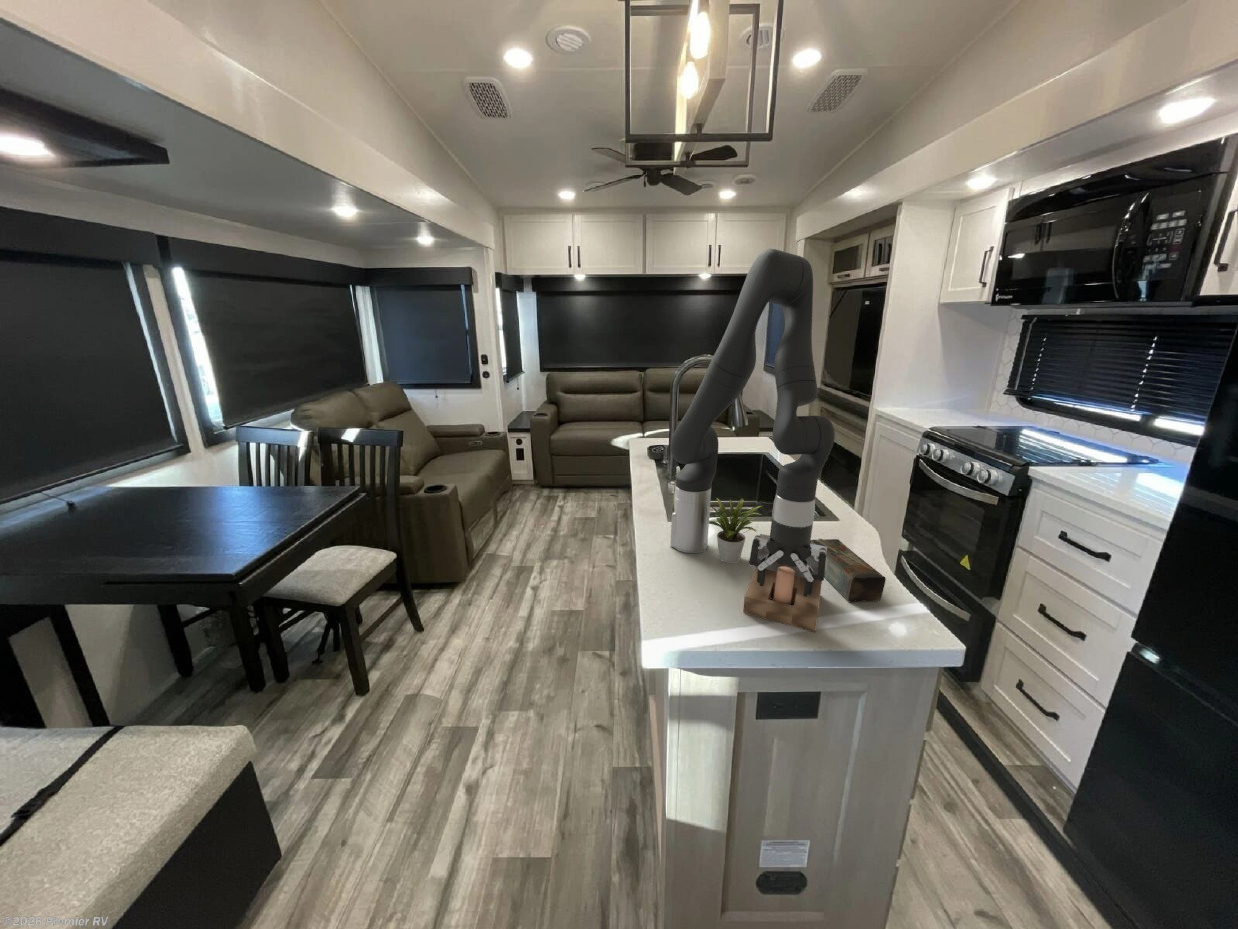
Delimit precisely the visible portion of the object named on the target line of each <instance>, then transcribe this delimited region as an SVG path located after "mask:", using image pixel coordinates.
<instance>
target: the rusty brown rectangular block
mask: <svg viewBox="0 0 1238 929" xmlns="http://www.w3.org/2000/svg"><path fill="white" fill-rule="evenodd" d="M810 544H815V545H820V546H825V547H827V553H826V563H825V575H824V579H826V581H828V582H829V583H830V584H831V585H832V587H833V588H835V590H836V591H837V592H839V593H840V594H841V595H842V597H843V598H844V599H845V600H846V601H847V602H849V603H853V602H854V603H855V602H881V600H882V596H883V592H884V590H885V584H886V581H887V578H886V577H885V576H884V575H883V574H882V573H880V572H879V571H878V570H877V569H876V568H874V567H873V566H871V565H870V564H869V563H868V562H866V561H865V560H864V559H862V557H860V556H859V555H858V554H856V553H855V552H854V551H853V550H851V548H849V547H848V546H847V545H846V544H844V543H843V542H842V541H841V540H840V539H838V538H837V539H836V538H830V539H828V538H827V539H826V538H825V539H824V538H817V539H811V540H810Z"/></svg>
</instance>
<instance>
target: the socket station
mask: <svg viewBox="0 0 1238 929" xmlns="http://www.w3.org/2000/svg"><path fill="white" fill-rule="evenodd" d="M758 535H759V536H760V537H761V538H762V539H766V540H768V539H769V538H770V534H769V535H767V534H762V533H760V534H758ZM810 546H811V549H817V550H820V549H821V548H825V549H826V553H827V547H825V546H820V545H815V544H810ZM768 553H769V550H768V549H767V547H766V546H763V547H762V549H759V551H758V556H757V558H758V559H760V560H762V559H763V558H764V557H765V556H766V555H767V554H768ZM807 561H808V562H809V565H810V567H811V568H812V570H813V571H818V562H819V561H816V560H815V559H814V556H813V555H810V557H808V558H807ZM782 566H784V567H789V568H792V569H793V570H794V571H795V577H794V584H793V591H792V599H791V605H788V604H784V603H780V602H776V601H773V600H774V592H775V584H776V576H777V569H778V568H779V567H782ZM757 574H758V569H757V567H755V568H754V571H753V574H752V576H751V579H750V582H749V584H748V586H747V589H746V591H745V594H744V600H743V610H742V613H743V614H747V615H749V616H754V617H757V618H761V619H765V620H768V621H773V622H776V623H780V624H784V625H787V626H790V627H794V628H798V629H802V630H805V631H809V632H813V633H815V632H816V630H817V622H818V618H819V609H820V607H819V606H820V602H821V601H820V599H821V591H822V584H823V581H819V580H815V581H814V582H813V587H812V593H811V595H808V594H807V597H805V596H804V589H805V582H806V577H805V576H804V574H803V573H802V572H801V571H800V569H799V568H798V566H794V567H791V566H788V565H786V564H785V565H782V564H778V562H776V561H775V562H773V563H772V564H771V565H769V566H767V567H766V574H765V582H764V585H763V586H760V583H758V582H757ZM792 604H793V605H792Z"/></svg>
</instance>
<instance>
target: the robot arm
mask: <svg viewBox="0 0 1238 929" xmlns="http://www.w3.org/2000/svg"><path fill="white" fill-rule="evenodd" d="M813 299H814V273H813V268H812V265H811V263H810V262H809V261H808V259H806V258H804V257H803V256H800V255H797V254H793V253H790V252H786V251H782V250H779V249H775V248H768V249H765V250H763V251H762V252H761V253H759V255H757V257H756V258H755V259H754V260H753V262H752V265H751V266H750V268H749V270H748V272H747V275H746V277H745V280H744V283H743V285H742V288H741V291H740V294H739V296H738V299H737V302H736V305H735V307H734V311H733V314H732V316H731V317H730V320H729V323H728V325H727V327H726V329H725V332H724V334H723V336H722V339H721V341H720V342H719V345H718V347H717V349H716V351H715V352H714V355H713V356H712V358H711V361H710V363H709V365H708V367H707V370H706V371H705V374H704V377H703V379H702V381H701V383H700V385H699V387H698V389H697V391H696V394H695V395H694V397H693V399H692V402H691V403H690V405H689V407H688V409H687V410H686V412H685V414H684V416H683V417H682V419H681V420H680V422H679V423H678V425H677V427H676V429H675V430H674V432H673V433H672V435H671V436H672V437H671V439H670V444H669V445H670V447H669V448H670V453H671V455H672V458H673V459H674V461H676V462H677V463H679V464H682V465H684V467H683V468H682V469H681V470H680V471H678V473H677V474H676V477H675V488H674V510H673V512H672V513H671V521H670V522H671V524H670V547H671V548H674V549H676V550H677V551H679V552H682V553H685V554H699V553H702V552H705V551H706V550H707V549H708V541H709V527H710V524H709V523H708V522H710V514H711V513H710V512H711V510H710V509H711V497H712V482H713V481H714V479H715V476H716V474H717V465H718V456H719V448H720V447H719V438H718V435H717V432H716V430H715V429H714V428H713V426H712V425H713V424H714V422H715V421H716V420H717V418H719V417H720V416H721V415H722V413H724V412H725V411H726V410H727V409H728V408H729V407H730V406H731V405H732V404H733V403H734V402H735V401H736V400H737V399H738V397H739V396H740V395H741V394H742V392H743V391H744V389H745V387H746V385H747V384H748V382H749V379H750V378H751V376H752V374H753V372H754V370H755V367H756V363H757V346H756V330H757V326H758V323H759V321H760V320H761V319H760V318H761V317H762V315H763V314H762V313H764V310H765V308H766V306H767V305H768V303H771V304H776V305H780V306H781V309H782V312H783V315H784V316H783V317H784V331H783V334H782V337H781V340H780V342H779V344H778V347H777V350H776V352H775V357H774V362H773V363H774V364H773V370H774V378H775V388H776V394H777V395H776V396H777V399H776V400H777V401H776V408H775V417H774V423H773V429H772V442H773V444H774V447H775V448H776V450H777V451H778V452H779V453H780V454H783V455H787V456H788V455H789V456H790V455H791V456H792V455H793V456H794V455H795V456H797V455H800V456H799V458H798V459H796V460H795V461H793V462H789V463H786V464H783V465H782V466H781V467H780V468H779V470H778V474H777V483H776V491H775V496H774V497H775V498H774V500H773V504H772V505H773V507H772V511H771V516H772V517H771V523H770V531H769V532H770V533H769V536H770V538H769V539H768V540H766V539H762V538H761V537H760V536H759V535H760V534H757V535H754V537H753V540H752V544H751V549H750V556H749V562H748V563H749V565H750V566H751V567H755V568H756V567H757V569H758V574H757V582H758V583H760V586H763V585H764V582H765V574H766V567H767V566H769V565H771V564H772V563H773V562H775V561H776V562H778V564H782V565H785V564H786V565H788V566H791V567H794V566H798V568H799V569H800V571H801V572H802V573H803V574H804V576H805V577H806V582H805V589H804V596H805V597H807V594H808V595H811V593H812V587H813V582H814V581H815V580H819V581H822V582H823V581H825V577H824V575H825V563H826V549H825V548H821V549H820V550H817V549H811V546H810V540H812V532H813V526H814V520H815V511H816V494H817V488H818V487H817V486H818V481H819V478H820V476H821V473H822V471H823V468H824V467H825V464H826V462H827V460H828V458H829V455H830V453H831V451H832V449H833V446H834V443H835V438H836V437H835V436H836V434H835V428H834V425H833V423H832V421H831V420H830V418H828V417H826V416H825V415H824V416H823V415H797V411H798V409H799V408H798V407H803V406H805V405H810V404H811V403H813V402H814V401H816V400H817V398H818V394H819V392H818V384H817V377H816V368H815V365H814V364H815V363H814V356H813V354H814V353H813V342H812V340H813V338H812V335H813V334H812V332H813V303H814V302H813V301H814V300H813ZM763 546H766V547H767V549H768V550H769V553H768V554H767V555H766V556H765V557H764V558H763V559H762V560H760V559H758V558H757V556H758V551H759V549H762V547H763ZM810 555H813V556H814V559H815V560H816V561H819V562H818V571H813V570H812V568H811V567H810V565H809V562H808V561H807V558H808V557H810Z"/></svg>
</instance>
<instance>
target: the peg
mask: <svg viewBox="0 0 1238 929" xmlns="http://www.w3.org/2000/svg"><path fill="white" fill-rule="evenodd" d="M794 577H795V571H794V570H793V569H792V568H789V567H784V566H782V567H779V568H778V569H777V576H776V584H775V592H774V599H772V601H776V602H780V603H784V604H788V605H792V603H791V599H792V591H793V584H794Z"/></svg>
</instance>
